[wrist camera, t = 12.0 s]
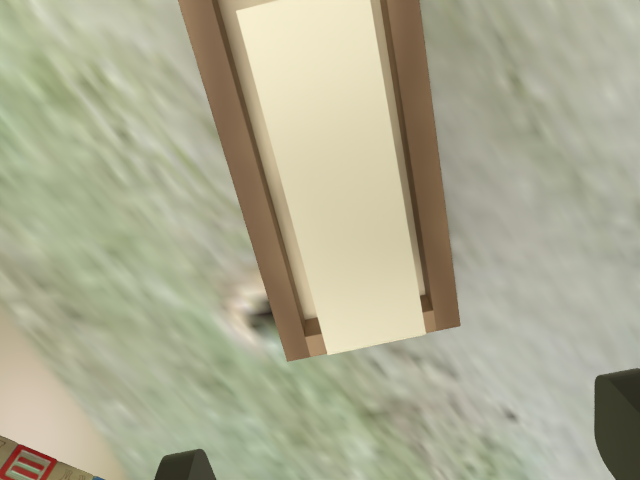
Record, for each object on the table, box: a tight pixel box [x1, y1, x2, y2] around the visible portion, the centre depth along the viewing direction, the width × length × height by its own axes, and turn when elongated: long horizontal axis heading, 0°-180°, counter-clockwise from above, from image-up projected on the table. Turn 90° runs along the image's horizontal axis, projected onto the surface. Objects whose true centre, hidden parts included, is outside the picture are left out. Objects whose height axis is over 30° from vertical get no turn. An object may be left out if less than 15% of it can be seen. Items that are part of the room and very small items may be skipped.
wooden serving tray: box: [178, 0, 460, 362], centre depth 27 cm, size 11×23×3 cm, turn 12°
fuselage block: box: [236, 0, 426, 355], centre depth 24 cm, size 5×16×7 cm, turn 13°
